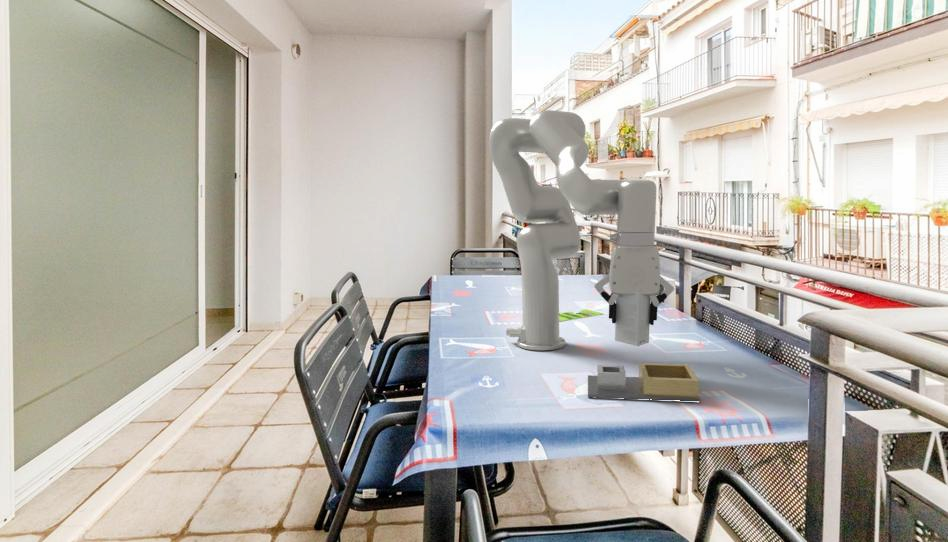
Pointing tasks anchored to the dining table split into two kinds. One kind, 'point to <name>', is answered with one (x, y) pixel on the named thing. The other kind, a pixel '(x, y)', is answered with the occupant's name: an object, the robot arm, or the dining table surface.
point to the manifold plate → (645, 383)
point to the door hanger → (577, 315)
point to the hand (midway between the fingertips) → (632, 322)
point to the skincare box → (632, 318)
